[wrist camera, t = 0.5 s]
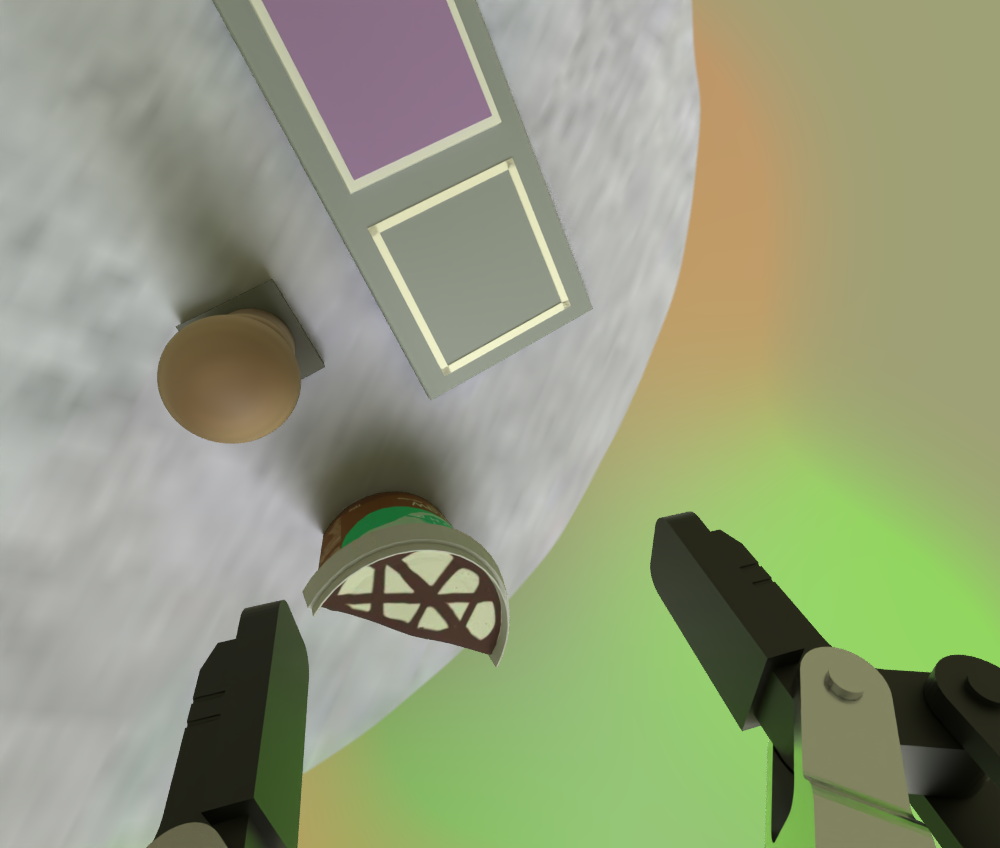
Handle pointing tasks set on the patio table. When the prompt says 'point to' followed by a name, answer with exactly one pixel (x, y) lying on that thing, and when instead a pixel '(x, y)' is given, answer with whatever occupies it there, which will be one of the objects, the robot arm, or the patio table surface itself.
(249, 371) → the stamp
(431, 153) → the stamping board
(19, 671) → the patio table surface
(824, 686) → the robot arm
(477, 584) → the food container
